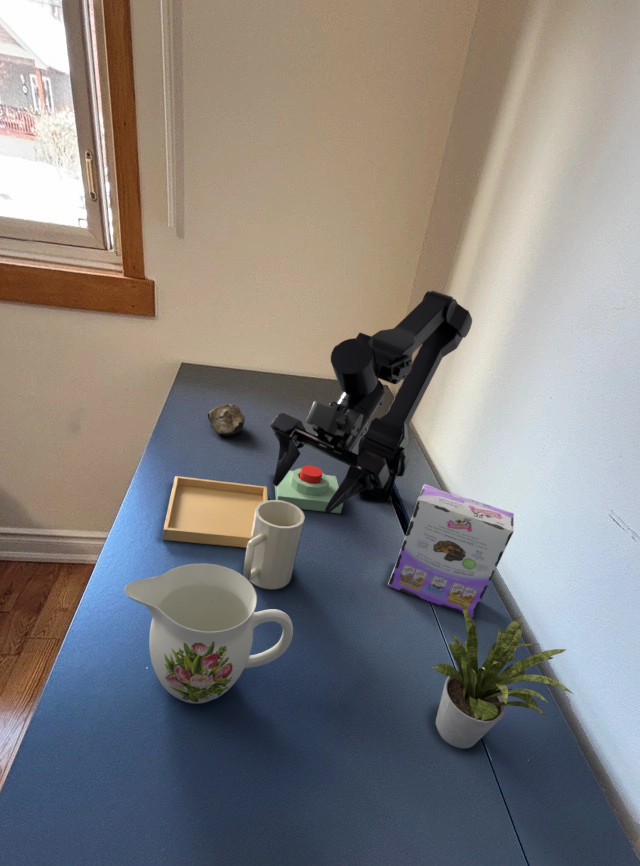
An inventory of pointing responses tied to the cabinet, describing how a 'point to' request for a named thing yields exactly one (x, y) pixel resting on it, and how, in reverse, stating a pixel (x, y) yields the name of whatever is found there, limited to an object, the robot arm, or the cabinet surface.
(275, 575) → the tall mug
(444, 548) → the candy box
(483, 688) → the house plant
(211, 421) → the grey lumpy stone
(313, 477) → the switch button
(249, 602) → the pitcher
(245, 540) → the stand tray
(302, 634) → the cabinet surface
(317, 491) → the switch base
